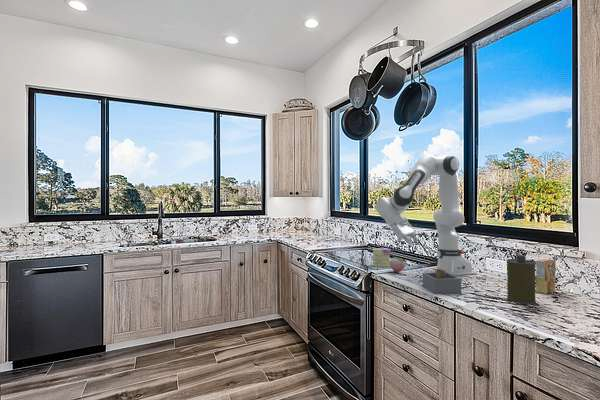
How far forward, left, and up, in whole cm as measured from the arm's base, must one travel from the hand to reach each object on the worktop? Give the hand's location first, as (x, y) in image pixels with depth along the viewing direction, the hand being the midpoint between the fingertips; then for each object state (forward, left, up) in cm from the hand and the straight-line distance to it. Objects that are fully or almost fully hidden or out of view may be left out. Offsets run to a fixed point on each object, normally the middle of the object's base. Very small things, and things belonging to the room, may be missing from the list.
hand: (414, 242), depth 162 cm
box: (+4, -47, -22) cm, 52 cm away
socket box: (-9, +9, -22) cm, 26 cm away
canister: (-36, +27, -22) cm, 51 cm away
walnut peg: (-9, +9, -22) cm, 26 cm away
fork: (-21, -47, -23) cm, 56 cm away
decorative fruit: (0, -28, -22) cm, 36 cm away
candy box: (-57, +16, -22) cm, 64 cm away
